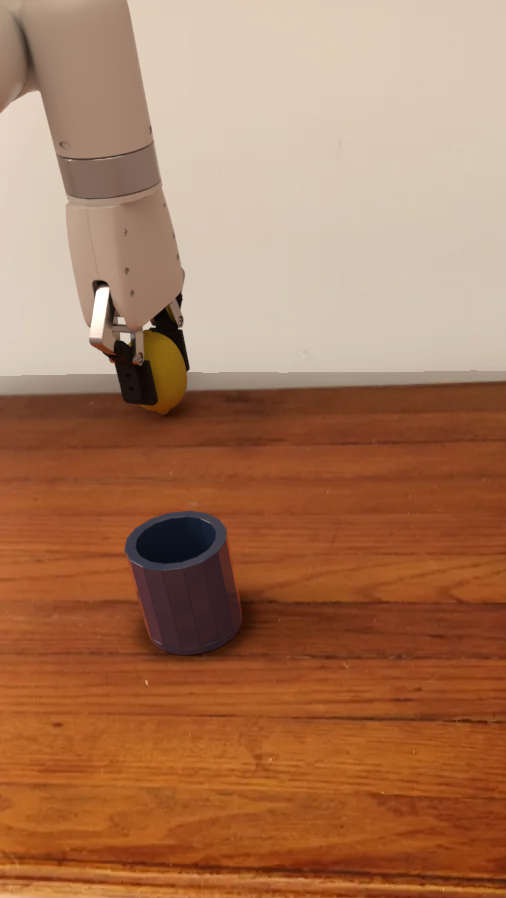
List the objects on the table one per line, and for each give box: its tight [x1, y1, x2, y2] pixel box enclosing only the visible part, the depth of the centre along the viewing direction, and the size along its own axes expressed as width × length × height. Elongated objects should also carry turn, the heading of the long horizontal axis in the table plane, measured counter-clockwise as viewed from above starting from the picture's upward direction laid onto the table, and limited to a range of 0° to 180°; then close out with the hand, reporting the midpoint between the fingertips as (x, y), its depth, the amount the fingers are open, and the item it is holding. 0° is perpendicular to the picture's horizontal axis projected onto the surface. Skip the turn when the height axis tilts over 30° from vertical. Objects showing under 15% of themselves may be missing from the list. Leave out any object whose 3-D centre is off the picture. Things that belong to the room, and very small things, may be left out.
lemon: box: [127, 329, 188, 416], centre depth 86 cm, size 6×6×8 cm
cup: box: [123, 510, 244, 656], centre depth 63 cm, size 6×6×7 cm
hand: (157, 384), depth 86 cm, fingers closed on lemon, 5 cm apart
